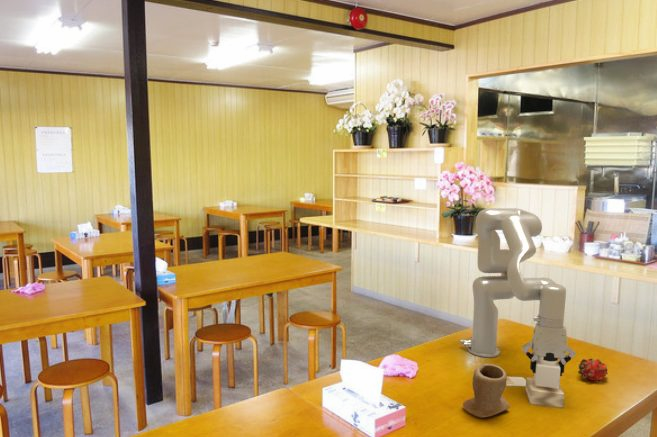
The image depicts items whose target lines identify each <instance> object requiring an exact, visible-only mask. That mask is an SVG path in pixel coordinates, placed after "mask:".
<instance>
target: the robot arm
mask: <svg viewBox="0 0 657 437" xmlns="http://www.w3.org/2000/svg"><path fill="white" fill-rule="evenodd" d="M475 229H476V232H477V268H478V271H479V272H481V273H484V274H501V275H486V276H485V275H484V276H479V277H477V278H475V279H474V280H473V282H472V293H473V317H472V318H473V319H472V337H470V338H469V339H462V338H461V339H460V345H463V346H464V347H467V351H468V352H469V353H470V354H471V355H475V356H478V357H483V358H494V357H498V356H499V355H500V352H501V350H500V349H499V348H498V347H497V338H498V320H499V310H498V307H497V306H496V304H495V303H494V301H496V300H511V299H513V298H514V297H515V298H516V299H517V300H519V301H523V302H524V301H525V302H528V301H539V305H538V306H539V308H538V309H539V310H538V315H537V316H533V321H535V322H536V323H535V326H534V328H533V334H532V340H531V341H530V342H528V343H526V344H524V345H522V346H521V349H522V351H523V352H524V354H525V355H526V356H527V357H528V359H529V360H530V364H529V367H530V370H531V372H532V373H533V374H534V373H536V358H537V357H538V356H541V357H545V356H546V353H553V354H554V357H555V358H558V362H559V365H560V377H562V376H563V374H564V373H565V365H567V363H568V362H570V361H571V360H572V359H573V358H574V357H575V356H576V351H575V350H573V349H572V348H571V347H569V346H568V336H567V334H568V333H567V327H565V325H564V324H565V323H564V320H565V309H566V297H567V289H566V287H565V286H564V285H562V284H559V283H556V281H554V280H553V279H552V278H549V277H524V276H523V274H522V272H521V269H520V263H524V262H525V261H527V260H529V259H530V258H532V257H534V256H535V254H536V253H537V247H536V245H535V243H534V240H533V237H534V238H535V237H538V236H539V235H540V234H542V232H543V231H542V230H543V224H542V221H541V219H540V217H539V216H538V215H537V214H535V213H533V212H529V211H527V210H524V209H521V208H517V207H516V208H515V207H514V208H511V207H509V208H508V207H507V208H505V207H504V208H502V207H501V208H500V207H499V208H498V207H496V208H495V207H494V208H492V207H491V208H484V209H482V210H480V211H479V212H478V214H477V215H476V218H475ZM497 231H502V234H503V236H504V239H505V241H506V245H507V247H508V248H509V249H508V248H507V249H506V248H504V249H503V248H502V249H501V238H500V235H499V234H498V232H497ZM530 348H531V350H532V352H530V351H529V349H530ZM567 352H568V354H567Z"/></svg>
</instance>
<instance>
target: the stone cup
mask: <svg viewBox="0 0 657 437" xmlns="http://www.w3.org/2000/svg"><path fill="white" fill-rule="evenodd" d="M507 377H508V376H507V373H506V371H505V370H504V369H503V368H502V367H501V366H499V365H497V364H494V363H483V364H480V365H479V366H477V367H476V368H475V370H474V371H473V376H472V382H471V383H472V390H473V395H474V397H472V398H468V399H467V400H465V401H463V402H462V408H464V410H465V411H467V413H470V414H472V415H473V416H476V417H477V418H489V417H492V416H495V415H498V414H499V413H502V412H505V411H506V410H508V409H510V408H511V405H510V404H509V403H508V401H507V400H506V398H504V396H503V394H504V391H505V389H506V387H507V386H506V383H507Z"/></svg>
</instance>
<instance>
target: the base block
mask: <svg viewBox="0 0 657 437" xmlns="http://www.w3.org/2000/svg"><path fill="white" fill-rule="evenodd" d="M525 378H526V379H525V380H526V387H525V393H526V396H527V399H528V402H529V405H532V406H540V407H547V408H548V407H550V408H556V409H557V408H558V409H564V406H565V392H564V391H563V389H562V387H561V384H560V383H559V389H556V388H549V387H542V386H536V385H535V380H534V377H525Z"/></svg>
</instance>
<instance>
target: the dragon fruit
mask: <svg viewBox="0 0 657 437" xmlns="http://www.w3.org/2000/svg"><path fill="white" fill-rule="evenodd" d="M577 372H578V374H579V375H580V376H581V378H582V379H585V380H586V381H590V380H591V381H593V382H595V383H598V382H599V381H600V382H602V381H603V379H604V378H605V377H606V376H607V375H608V368H607V365H606V363H604V362H603V363H602V360H600V358H599V359H598V358H597V359H594V358H588V359H586V358H583V359H582V360H581V361H580V363H579V364H578V371H577Z"/></svg>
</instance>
